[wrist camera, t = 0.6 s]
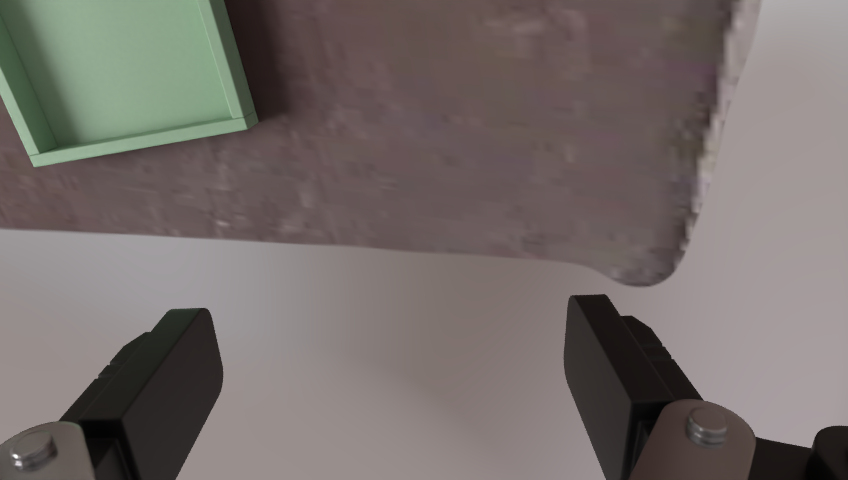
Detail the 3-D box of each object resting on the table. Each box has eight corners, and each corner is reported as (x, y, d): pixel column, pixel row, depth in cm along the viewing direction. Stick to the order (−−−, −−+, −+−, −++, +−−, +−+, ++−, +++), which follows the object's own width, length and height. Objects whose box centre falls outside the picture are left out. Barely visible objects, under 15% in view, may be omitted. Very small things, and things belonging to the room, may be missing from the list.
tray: (-71, -136, 31) (-112, -149, 29) (170, -188, 30) (148, -205, 28) (58, 158, 38) (33, 167, 35) (259, 122, 37) (247, 129, 34)
